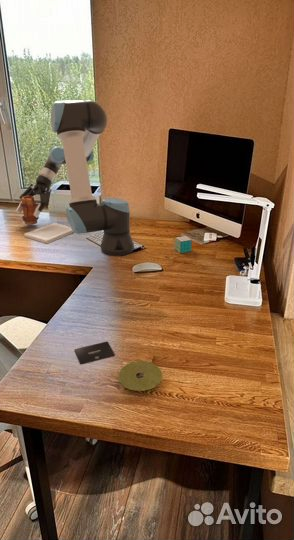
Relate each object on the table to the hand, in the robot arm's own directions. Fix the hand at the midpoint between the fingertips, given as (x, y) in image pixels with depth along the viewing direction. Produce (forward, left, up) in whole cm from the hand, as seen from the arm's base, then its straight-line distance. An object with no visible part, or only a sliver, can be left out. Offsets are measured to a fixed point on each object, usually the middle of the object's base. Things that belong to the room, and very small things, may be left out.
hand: (26, 214), depth 203 cm
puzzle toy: (-80, -20, -8) cm, 83 cm away
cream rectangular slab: (-15, -1, -8) cm, 17 cm away
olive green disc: (-114, +61, -8) cm, 129 cm away
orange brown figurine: (0, -2, -7) cm, 7 cm away
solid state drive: (-96, +58, -9) cm, 113 cm away
